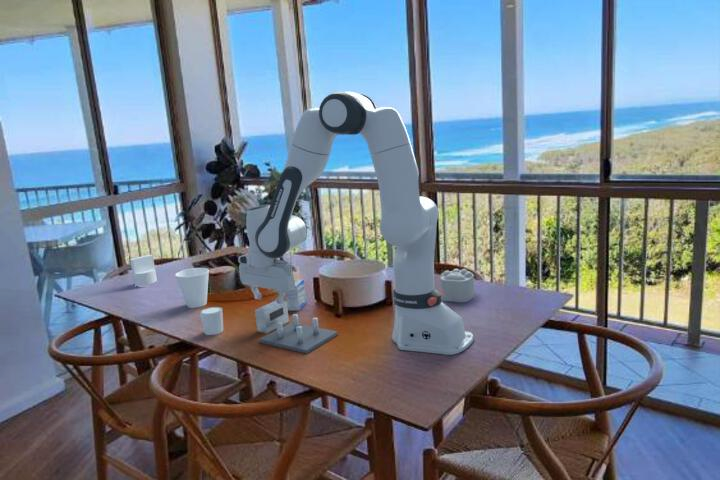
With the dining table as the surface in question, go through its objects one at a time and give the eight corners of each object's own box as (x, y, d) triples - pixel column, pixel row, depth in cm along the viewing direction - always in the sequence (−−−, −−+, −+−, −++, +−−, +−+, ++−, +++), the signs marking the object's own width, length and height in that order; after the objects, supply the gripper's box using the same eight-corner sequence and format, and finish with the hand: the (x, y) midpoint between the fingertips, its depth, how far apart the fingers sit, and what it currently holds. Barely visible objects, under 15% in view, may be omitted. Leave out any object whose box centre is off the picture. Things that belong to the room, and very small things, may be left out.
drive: (289, 322, 166) (286, 301, 165) (267, 333, 158) (264, 311, 157) (279, 320, 168) (277, 299, 167) (257, 331, 160) (254, 309, 159)
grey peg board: (337, 334, 153) (336, 317, 151) (307, 353, 141) (305, 334, 140) (291, 325, 163) (289, 308, 162) (259, 342, 152) (257, 324, 150)
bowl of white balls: (438, 300, 175) (437, 275, 173) (448, 288, 186) (447, 265, 184) (469, 302, 170) (468, 277, 168) (477, 290, 182) (477, 266, 180)
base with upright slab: (152, 279, 229) (147, 253, 226) (160, 283, 222) (156, 256, 220) (131, 285, 223) (126, 258, 220) (139, 288, 216) (134, 261, 214)
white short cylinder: (206, 327, 166) (203, 307, 165) (227, 326, 166) (225, 305, 165) (199, 336, 160) (196, 315, 158) (221, 335, 159) (218, 313, 158)
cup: (208, 297, 198) (203, 265, 195) (218, 304, 188) (213, 271, 186) (176, 304, 192) (171, 272, 189) (185, 313, 182) (179, 279, 179)
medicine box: (299, 310, 175) (297, 286, 173) (287, 310, 176) (284, 286, 174) (306, 302, 183) (304, 279, 181) (294, 302, 184) (292, 279, 182)
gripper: (297, 258, 155) (301, 302, 158) (248, 252, 167) (253, 293, 170) (282, 264, 150) (287, 309, 153) (234, 257, 162) (239, 299, 165)
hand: (269, 300), depth 162 cm, fingers open, 8 cm apart
